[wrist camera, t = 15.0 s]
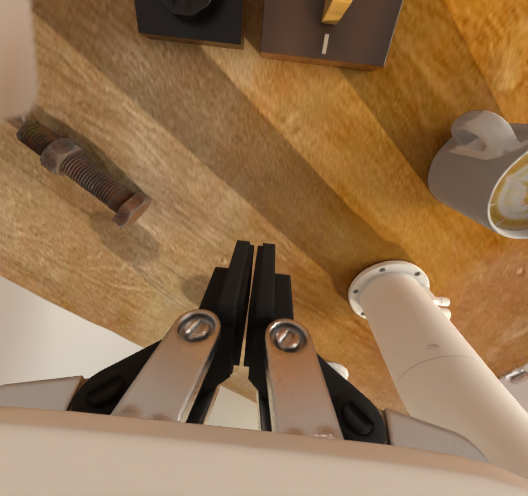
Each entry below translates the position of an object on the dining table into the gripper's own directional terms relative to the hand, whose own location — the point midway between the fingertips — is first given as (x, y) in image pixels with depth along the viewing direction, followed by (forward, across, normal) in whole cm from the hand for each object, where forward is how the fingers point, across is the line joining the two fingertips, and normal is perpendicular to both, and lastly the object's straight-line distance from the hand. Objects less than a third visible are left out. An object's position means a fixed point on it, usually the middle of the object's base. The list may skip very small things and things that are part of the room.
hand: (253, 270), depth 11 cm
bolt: (+23, +23, +3) cm, 33 cm away
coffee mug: (+23, -24, -4) cm, 34 cm away
